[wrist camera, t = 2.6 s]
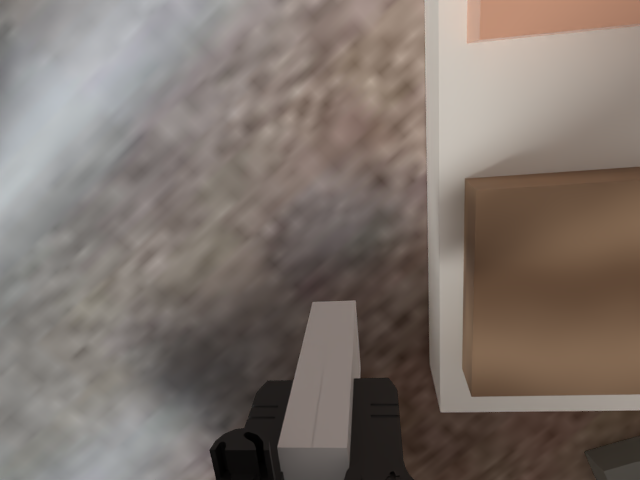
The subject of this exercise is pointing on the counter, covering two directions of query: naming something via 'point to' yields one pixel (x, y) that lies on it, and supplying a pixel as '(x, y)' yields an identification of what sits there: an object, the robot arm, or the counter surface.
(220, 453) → the robot arm
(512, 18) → the terracotta tile
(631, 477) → the soap mold
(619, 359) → the walnut tile
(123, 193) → the counter surface
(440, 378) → the white flat block
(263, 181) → the counter surface
